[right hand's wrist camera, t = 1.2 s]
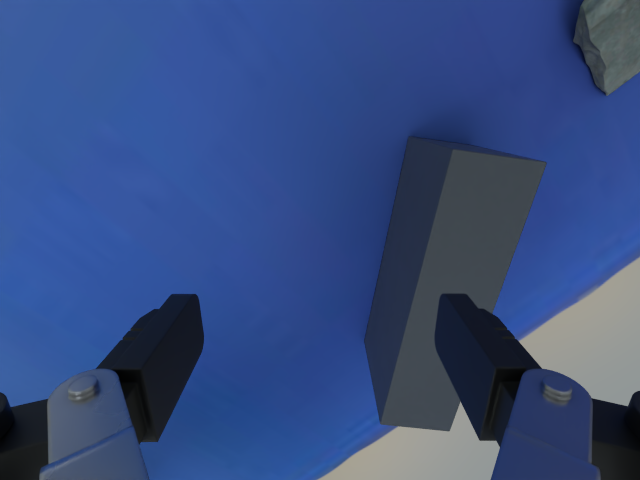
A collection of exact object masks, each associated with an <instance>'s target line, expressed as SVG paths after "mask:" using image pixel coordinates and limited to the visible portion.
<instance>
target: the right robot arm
mask: <svg viewBox="0 0 640 480" xmlns="http://www.w3.org/2000/svg"><path fill="white" fill-rule="evenodd" d="M434 340H435V347H436V351H437V354H438V356H439V358H440V360H441V362H442V364H443V366H444V368H445V370H446V372H447V374H448V376H449V378H450V380H451V383H452V385H453V387H454V389H455V391H456V393H457V395H458V397H459V399H460V401H461V403H462V405H463V407H464V409H465V411H466V413H467V415H468V417H469V420H470V422H471V424H472V426H473V428H474V430H475V432H476V434H477V436H478V438H479V440H480V441H497V443H498V444H499V446H500V450H499V453H498V457H497V460H496V464H495V467H494V470H493V474H492V477H491V480H640V391H637V392H635V393H634V394H633V395H632V398H631V400H630V403H629V405H628V406H624V405H619V404H615V403H610V402H606V401H601V400H597V399H592V398H591V396H590V395H589V393H588V392H587V391H586V390H585V389H584V388H583V387H582V386H581V385H580V384H578V383H577V382H576V381H574V380H572V379H571V378H569V377H567V376H565V375H563V374H560V373H558V372H554V371H551V370H547V369H542V368H541V367H540V366H539V365H538V363H537V362H536V361H535V360H534V359H533V358H532V357H531V355H530V354H529V353H528V352H527V351H526V350H525V348H524V347H523V346H522V345H521V344H520V343H519V341H518V340H517V339H515V337H514V336H513V334H512V333H511V332H510V331H509V330H507V328H506V326H505V325H504V324H503V323H502V322H501V321H500V319H499V318H498V317H496V316H495V315H493V314H491V313H490V312H488V311H487V310H485V309H479V308H478V307H477V306H476V305H475V303H474V302H473V301H472V300H471V298H470V297H469V296H468V295H467V294H465V293H443V294H441V296H440V299H439V305H438V312H437V319H436V326H435V334H434ZM203 343H204V332H203V325H202V318H201V311H200V304H199V299H198V296H197V295H196V294H172V295H170V297H169V298H168V299H167V300H166V301H165V303H164V304H163V305H162V306H161V308H160V309H154V310H152V311H151V312H149V313H147V314H146V315H144V316H143V317H141V318H140V319H139V320H138V321H137V322H136V323H135V324H134V326H133V327H132V328H131V331H128V332H127V334H126V335H125V336H124V337H123V340H121V341H120V342H119V343H118V344H117V345H116V346H115V347H114V349H113V350H112V351H111V352H110V353H109V354H108V355H107V357H106V358H105V359H104V360H103V361H102V362H101V363H100V365H99V366H98V367H97V368H96V369H93V370H89V371H85V372H82V373H80V374H77V375H75V376H73V377H71V378H69V379H68V380H66V381H64V382H63V383H62V384H60V385H59V386H58V387H57V388H56V389H55V390H54V391H53V392H52V393H51V395H50V396H49V399H45V400H41V401H37V402H32V403H28V404H23V405H19V406H14V407H10V405H9V402H8V400H7V398H6V396H5V395H4V394H3V393H1V392H0V480H149V477H148V474H147V470H146V467H145V464H144V460H143V457H142V453H141V450H140V447H139V444H140V442H158V440H159V438H160V436H161V434H162V432H163V430H164V428H165V426H166V424H167V422H168V420H169V418H170V416H171V414H172V412H173V410H174V408H175V406H176V404H177V402H178V400H179V398H180V396H181V393H182V391H183V389H184V387H185V385H186V383H187V381H188V379H189V377H190V375H191V373H192V371H193V369H194V367H195V365H196V363H197V361H198V359H199V357H200V355H201V352H202V349H203Z"/></svg>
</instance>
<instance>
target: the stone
mask: <svg viewBox="0 0 640 480" xmlns="http://www.w3.org/2000/svg"><path fill="white" fill-rule="evenodd" d="M573 41H574V43H576V44H578V45H580V47H581V49H582V51H583V53H584V56H585V60H586V64H587V65H588V66H589V67H590V69H591V72H592V76H593V78H594V82H595V84H596V85H597V87H599V88H600V89H601V90H602V91H603V92H605V93H606V95H607V96H608V95H609V94H611V93H612V92H613V91H615V90H616V89H617V88H619V87H620V86H621V85H622V84H624V83H625V82H627V81H628V80H629V79H631V78H632V77H633V76H635V75H636V74H637V73H638V72H640V0H584V1H583V3H582V4H581V6H580V10H579V15H578V20H577V24H576V30H575V36H574V39H573Z"/></svg>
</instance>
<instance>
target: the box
mask: <svg viewBox="0 0 640 480" xmlns="http://www.w3.org/2000/svg"><path fill="white" fill-rule="evenodd" d="M546 164H547V163H546V162H544V161H539V160H535V159H530V158H526V157H522V156H517V155H513V154H508V153H504V152H500V151H495V150H491V149H486V148H482V147H478V146H473V145H467V144H460V143H453V142H446V141H439V140H432V139H425V138H418V137H411V136H409V137H408V142H407V146H406V151H405V155H404V160H403V165H402V169H401V174H400V178H399V183H398V188H397V192H396V197H395V201H394V206H393V211H392V215H391V220H390V224H389V229H388V234H387V238H386V243H385V247H384V252H383V257H382V261H381V266H380V270H379V275H378V280H377V284H376V289H375V294H374V298H373V303H372V307H371V312H370V317H369V321H368V326H367V330H366V335H365V340H364V342H365V348H366V353H367V358H368V363H369V368H370V373H371V379H372V384H373V389H374V394H375V399H376V404H377V410H378V415H379V420H380V424H382V425H392V426H402V427H412V428H422V429H432V430H442V431H450V429H451V426H452V423H453V420H454V418H455V415H456V412H457V409H458V406H459V404H460V399H459V397H458V395H457V393H456V391H455V389H454V387H453V385H452V383H451V380H450V378H449V376H448V374H447V372H446V370H445V368H444V366H443V364H442V362H441V360H440V358H439V356H438V354H437V351H436V347H435V340H434V334H435V326H436V319H437V312H438V305H439V299H440V296H441V294H443V293H465V294H467V295H468V296H469V297H470V298H471V300H472V301H473V302H474V303H475V305H476V306H477V307H478V308H479V309H485V310H487V311H488V312H490V313H491V314H492V313H493V310H494V307H495V304H496V302H497V299H498V296H499V293H500V291H501V288H502V285H503V282H504V280H505V277H506V274H507V271H508V269H509V266H510V263H511V260H512V258H513V255H514V252H515V249H516V246H517V244H518V241H519V238H520V235H521V233H522V230H523V227H524V224H525V222H526V219H527V216H528V213H529V211H530V208H531V205H532V202H533V200H534V197H535V194H536V191H537V189H538V186H539V183H540V180H541V177H542V175H543V172H544V169H545V166H546Z"/></svg>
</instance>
